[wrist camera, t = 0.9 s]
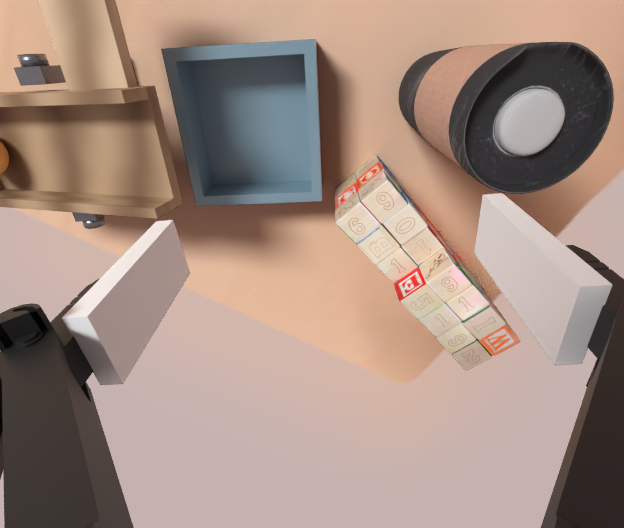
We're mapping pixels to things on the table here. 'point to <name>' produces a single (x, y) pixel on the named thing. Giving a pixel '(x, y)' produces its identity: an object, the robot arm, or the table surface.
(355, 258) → the table surface
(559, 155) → the travel mug
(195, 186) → the tub
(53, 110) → the chute
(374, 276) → the table surface
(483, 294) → the stack of blocks
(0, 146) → the ball
